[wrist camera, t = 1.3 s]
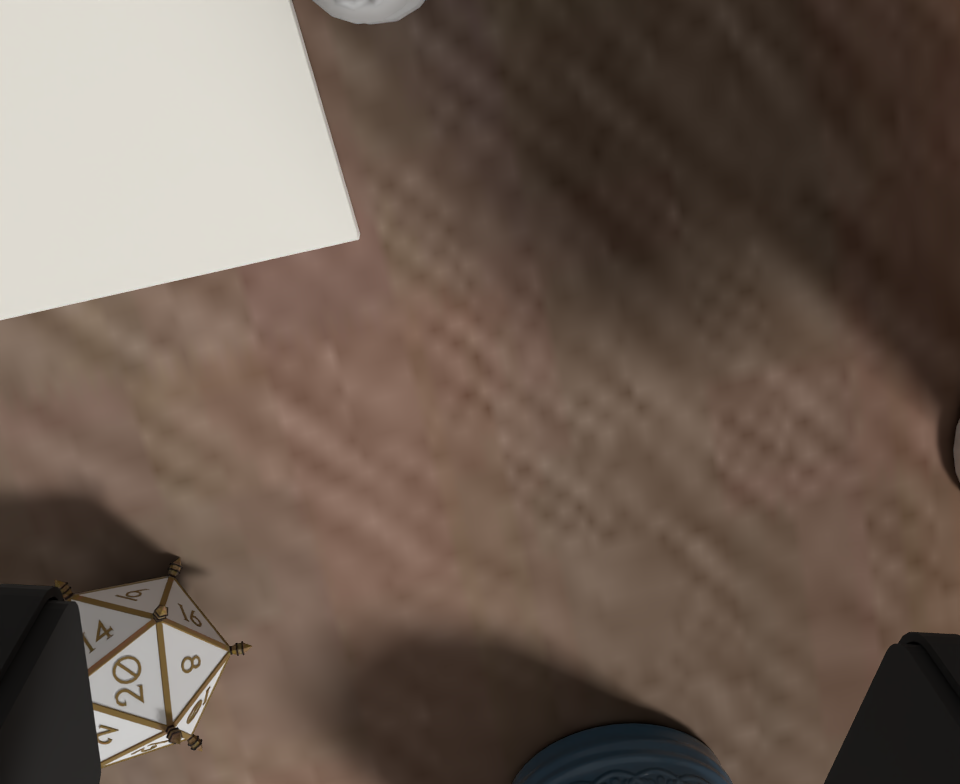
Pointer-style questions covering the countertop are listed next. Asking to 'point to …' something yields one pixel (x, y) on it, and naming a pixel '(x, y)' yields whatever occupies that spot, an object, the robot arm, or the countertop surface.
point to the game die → (148, 664)
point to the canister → (625, 758)
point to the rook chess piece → (369, 9)
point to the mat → (157, 146)
